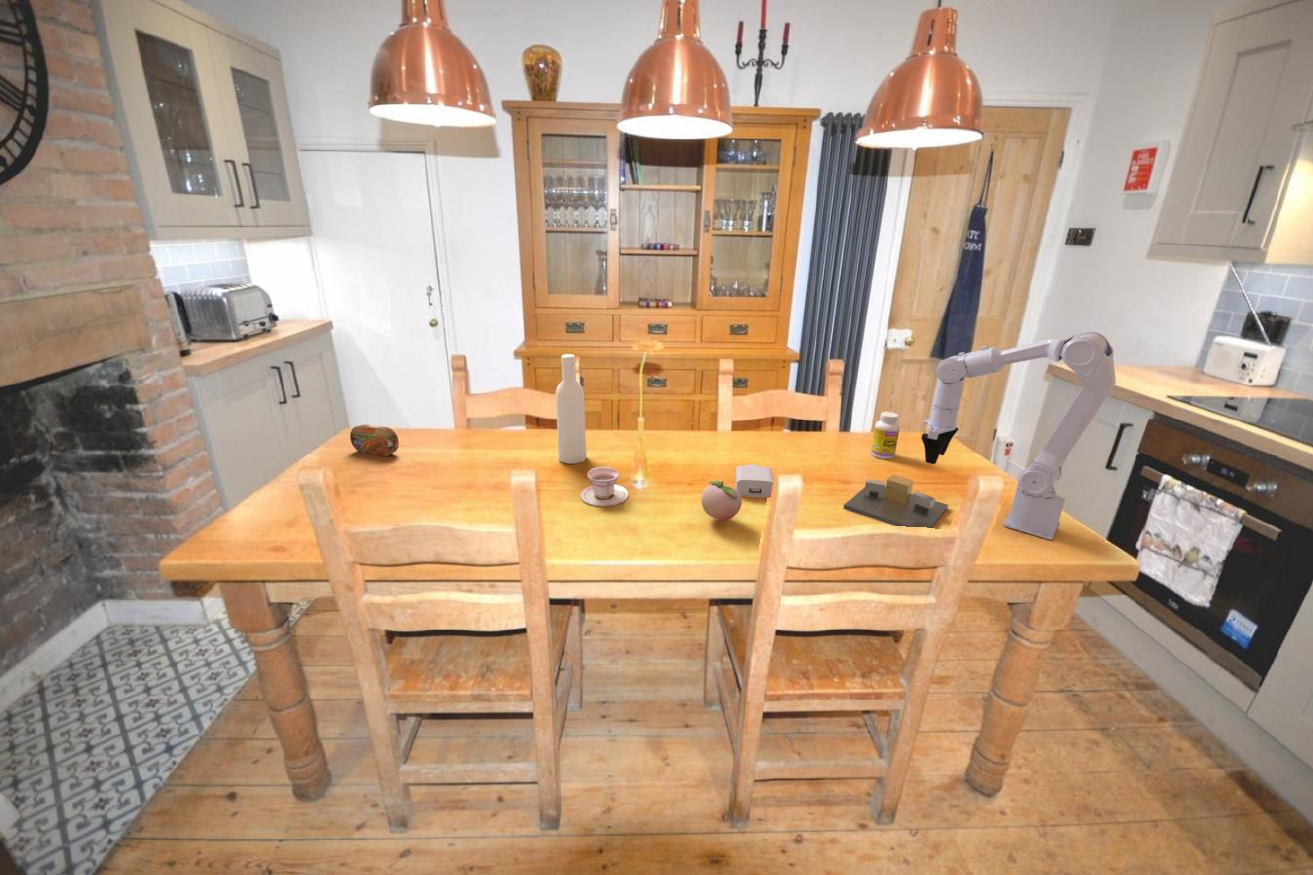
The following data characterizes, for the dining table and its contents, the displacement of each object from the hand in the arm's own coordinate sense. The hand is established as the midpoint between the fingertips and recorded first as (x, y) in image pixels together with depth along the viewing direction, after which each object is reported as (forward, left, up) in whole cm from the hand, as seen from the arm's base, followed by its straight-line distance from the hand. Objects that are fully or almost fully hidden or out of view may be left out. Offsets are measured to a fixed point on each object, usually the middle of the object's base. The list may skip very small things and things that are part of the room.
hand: (934, 458), depth 141 cm
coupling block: (+5, +10, -9) cm, 14 cm away
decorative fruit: (+32, +47, -10) cm, 58 cm away
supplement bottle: (+18, -18, -10) cm, 27 cm away
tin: (+129, +80, -10) cm, 152 cm away
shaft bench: (+4, +13, -10) cm, 17 cm away
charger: (+37, +25, -10) cm, 45 cm away
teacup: (+61, +55, -10) cm, 83 cm away
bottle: (+84, +45, -10) cm, 96 cm away
